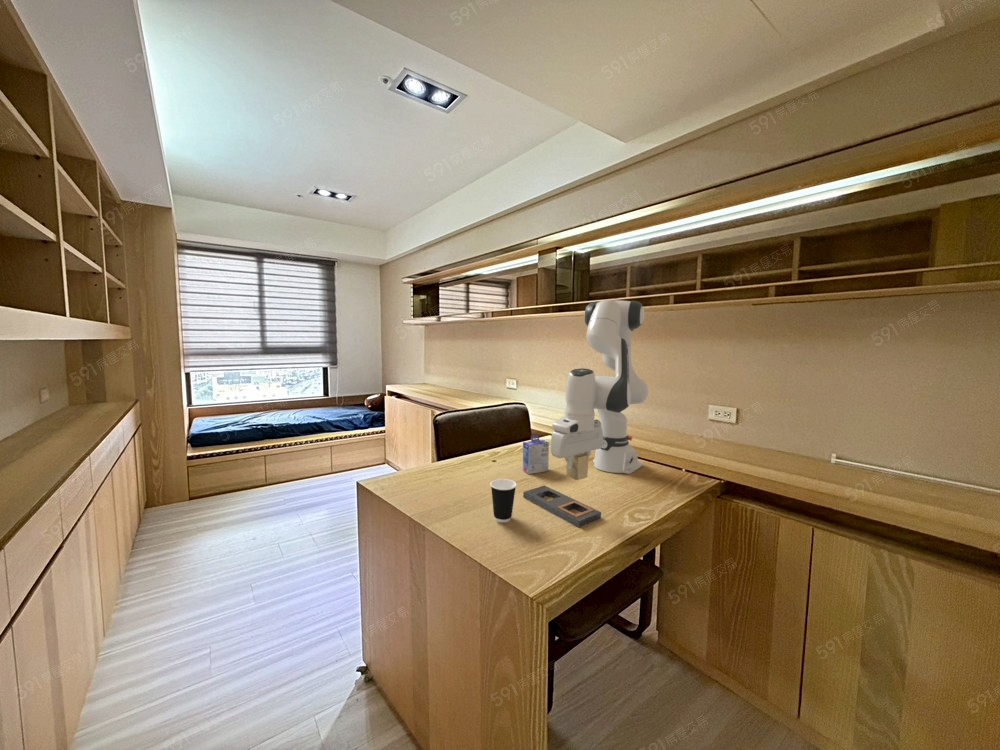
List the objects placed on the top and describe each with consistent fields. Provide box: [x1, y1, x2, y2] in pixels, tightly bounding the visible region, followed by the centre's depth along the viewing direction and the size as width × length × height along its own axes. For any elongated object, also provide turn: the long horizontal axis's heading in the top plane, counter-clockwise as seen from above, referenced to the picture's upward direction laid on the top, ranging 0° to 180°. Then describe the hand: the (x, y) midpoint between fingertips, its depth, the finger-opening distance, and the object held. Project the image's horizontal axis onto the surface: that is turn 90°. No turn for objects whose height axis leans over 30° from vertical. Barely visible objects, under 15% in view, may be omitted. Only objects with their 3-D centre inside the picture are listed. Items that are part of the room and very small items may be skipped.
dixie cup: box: [489, 478, 517, 523], centre depth 114 cm, size 8×8×11 cm
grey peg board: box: [522, 485, 602, 529], centre depth 123 cm, size 10×25×2 cm, turn 37°
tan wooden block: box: [566, 453, 589, 481], centre depth 116 cm, size 4×4×7 cm
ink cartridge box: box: [522, 434, 550, 475], centre depth 155 cm, size 10×6×14 cm, turn 116°
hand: (577, 466), depth 116 cm, fingers closed on tan wooden block, 4 cm apart
